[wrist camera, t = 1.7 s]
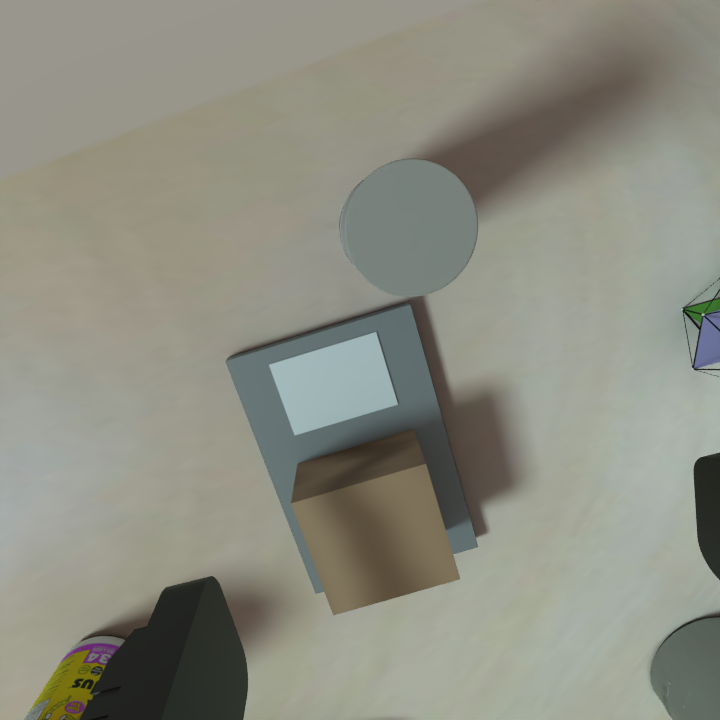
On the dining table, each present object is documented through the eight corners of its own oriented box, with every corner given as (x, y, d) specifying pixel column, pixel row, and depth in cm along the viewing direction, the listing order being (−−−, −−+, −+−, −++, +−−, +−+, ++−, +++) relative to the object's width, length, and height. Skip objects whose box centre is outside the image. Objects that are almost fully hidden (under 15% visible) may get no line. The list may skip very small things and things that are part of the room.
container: (356, 276, 32) (372, 321, 18) (327, 203, 31) (317, 188, 17) (426, 247, 32) (500, 269, 18) (399, 172, 31) (455, 130, 16)
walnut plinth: (413, 429, 34) (425, 463, 29) (443, 531, 36) (460, 579, 31) (297, 463, 34) (290, 503, 29) (334, 562, 36) (333, 615, 32)
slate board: (408, 302, 33) (410, 304, 32) (474, 538, 37) (478, 547, 36) (228, 357, 33) (225, 361, 32) (316, 584, 38) (315, 594, 37)
